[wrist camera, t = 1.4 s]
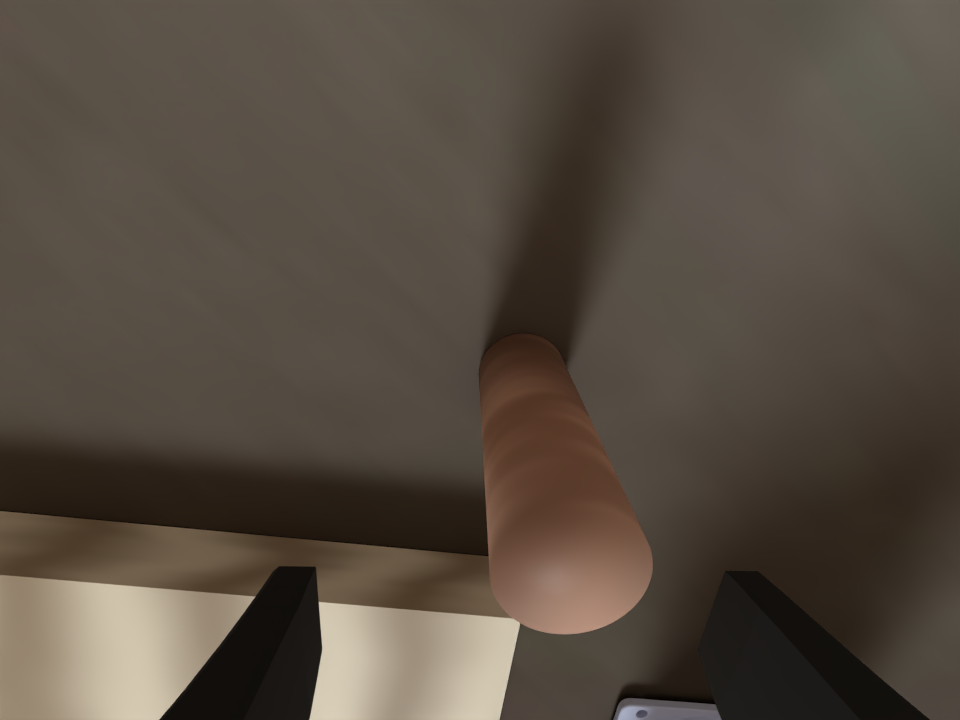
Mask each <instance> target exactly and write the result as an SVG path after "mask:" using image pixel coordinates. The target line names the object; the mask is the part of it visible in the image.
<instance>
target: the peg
mask: <svg viewBox="0 0 960 720" xmlns="http://www.w3.org/2000/svg"><path fill="white" fill-rule="evenodd" d="M479 386H480V405H481V423H482V442H483V460H484V478H485V497H486V515H487V533H488V552H489V570H490V583H491V588H492V591H493V594H494V596H495V598H496V600H497V602H498V603H499V605H500V606H501V607H502V609H503V610H504V611H505V612H506V613H507V614H508V615H509V616H511V617H512V618H513V619H515V620H516V621H518V622H519V623H521V624H523V625H525V626H527V627H529V628H532V629H535V630H538V631H542V632H546V633H553V634H577V633H583V632H588V631H592V630H596V629H598V628H601V627H604V626H606V625H608V624H610V623H612V622H614V621H616V620H618V619H619V618H621V617H622V616H624V615H625V614H626V613H627V612H629V611H630V610H631V609H632V608H633V607H634V606H635V605H636V604H637V603H638V602H639V600H640V599H641V598H642V596H643V595H644V593H645V591H646V590H647V588H648V585H649V583H650V580H651V576H652V569H653V560H652V553H651V549H650V546H649V544H648V542H647V540H646V538H645V536H644V533H643V531H642V529H641V527H640V525H639V523H638V520H637V518H636V516H635V514H634V512H633V510H632V508H631V505H630V503H629V501H628V499H627V497H626V495H625V492H624V490H623V488H622V486H621V484H620V482H619V480H618V477H617V475H616V473H615V471H614V469H613V467H612V464H611V462H610V460H609V458H608V456H607V454H606V452H605V449H604V447H603V445H602V443H601V441H600V439H599V436H598V434H597V432H596V430H595V428H594V426H593V424H592V421H591V419H590V417H589V415H588V413H587V411H586V408H585V406H584V404H583V402H582V400H581V398H580V396H579V393H578V391H577V389H576V387H575V385H574V383H573V380H572V378H571V376H570V374H569V372H568V370H567V368H566V365H565V363H564V361H563V359H562V357H561V355H560V353H559V351H558V350H557V349H556V347H555V346H554V345H553V344H552V343H550V342H549V341H548V340H546V339H544V338H542V337H540V336H537V335H534V334H528V333H519V334H513V335H509V336H506V337H504V338H502V339H500V340H498V341H497V342H495V343H494V344H493V345H492V346H491V347H490V348H489V349H488V350H487V352H486V353H485V355H484V356H483V358H482V361H481V363H480V368H479Z"/></svg>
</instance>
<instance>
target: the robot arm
mask: <svg viewBox="0 0 960 720" xmlns="http://www.w3.org/2000/svg"><path fill="white" fill-rule="evenodd" d="M698 652H699V655H700V658H701V661H702V665H703V668H704V671H705V674H706V677H707V681H708V684H709V687H710V690H711V692H712V695H713V698H714V701H715V704H705V703H691V702H678V701H665V700H652V699H639V698H626V699H623V700H622V701H621V702H620V703H619V705H618V707H617V710H616V713H615V717H614V720H930V719H928V718H927V717H926V716H925V715H923V714H922V713H921V712H920V711H919V710H917V709H916V708H915V707H914V706H913V705H911V704H910V703H909V702H908V701H907V700H905V699H904V698H903V697H902V696H901V695H899V694H898V693H897V692H896V691H895V690H894V689H892V688H891V687H890V686H889V685H888V684H887V683H885V682H884V681H883V680H882V679H881V678H879V677H878V676H877V675H876V674H875V673H874V672H873V671H871V670H870V669H869V668H868V667H867V666H866V665H864V664H863V663H862V662H861V661H860V660H859V659H857V658H856V657H855V656H854V655H853V654H852V653H851V652H849V651H848V650H847V649H846V648H845V647H844V646H843V645H841V644H840V643H839V642H838V641H837V640H836V639H835V638H834V637H832V636H831V635H830V634H829V633H828V632H827V631H826V630H825V629H823V628H822V627H821V626H820V625H819V624H818V623H817V622H815V621H814V620H813V619H812V618H811V617H810V616H809V615H808V614H806V613H805V612H804V611H803V610H802V609H801V608H800V607H799V606H797V605H796V604H795V603H794V602H793V601H792V600H791V599H789V598H788V597H787V596H786V595H785V594H784V593H783V592H781V591H780V590H779V589H778V588H777V587H776V586H775V585H773V584H772V583H771V582H770V581H769V580H767V579H766V578H765V577H764V576H763V575H761V574H760V573H759V572H756V571H725V573H724V576H723V579H722V582H721V585H720V587H719V590H718V593H717V596H716V599H715V602H714V605H713V607H712V610H711V613H710V616H709V619H708V622H707V624H706V627H705V630H704V633H703V636H702V639H701V641H700V644H699V647H698ZM321 654H322V638H321V625H320V612H319V600H318V587H317V574H316V567H308V566H279V567H278V568H276V569H275V570H274V571H273V572H272V573H271V575H270V576H269V578H268V579H267V581H266V582H265V584H264V585H263V586H262V588H261V589H260V591H259V592H258V594H257V595H256V596H255V598H254V599H253V601H252V602H251V603H250V605H249V606H248V608H247V609H246V610H245V612H244V613H243V615H242V616H241V617H240V619H239V620H238V621H237V623H236V624H235V625H234V627H233V628H232V629H231V631H230V632H229V633H228V635H227V636H226V637H225V639H224V640H223V641H222V643H221V644H220V645H219V647H218V648H217V649H216V650H215V652H214V653H213V654H212V655H211V657H210V658H209V659H208V660H207V662H206V663H205V664H204V666H203V667H202V668H201V669H200V671H199V672H198V673H197V674H196V676H195V677H194V678H193V679H192V681H191V682H190V683H189V684H188V686H187V687H186V688H185V690H184V691H183V692H182V693H181V694H180V696H179V697H178V698H177V699H176V700H175V702H174V703H173V704H172V705H171V706H170V708H169V709H168V710H167V711H166V712H165V713H164V715H163V716H162V717H161V718H160V719H159V720H309V719H310V715H311V709H312V704H313V699H314V693H315V688H316V683H317V677H318V671H319V666H320V660H321Z"/></svg>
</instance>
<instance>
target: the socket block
mask: <svg viewBox="0 0 960 720" xmlns="http://www.w3.org/2000/svg"><path fill="white" fill-rule="evenodd" d="M279 566H308V567H316V574H317V587H318V600H319V612H320V625H321V638H322V654H321V660H320V666H319V671H318V677H317V683H316V688H315V693H314V699H313V704H312V709H311V715H310V719H309V720H499V719H500V715H501V710H502V705H503V701H504V696H505V691H506V687H507V682H508V677H509V673H510V668H511V663H512V659H513V654H514V650H515V645H516V640H517V636H518V631H519V626H520V623H519V622H518V621H516V620H515V619H513V618H512V617H511V616H509V615H508V614H507V613H506V612H505V611H504V610H503V609H502V607H501V606H500V605H499V603H498V602H497V600H496V598H495V596H494V594H493V591H492V588H491V583H490V570H489V556H479V555H468V554H457V553H447V552H436V551H425V550H414V549H404V548H393V547H382V546H371V545H360V544H350V543H339V542H328V541H317V540H307V539H296V538H285V537H274V536H264V535H253V534H242V533H231V532H221V531H210V530H199V529H188V528H178V527H167V526H156V525H145V524H135V523H124V522H113V521H102V520H91V519H81V518H70V517H59V516H48V515H38V514H27V513H16V512H5V511H0V720H159V719H160V718H161V717H162V716H163V715H164V713H165V712H166V711H167V710H168V709H169V708H170V706H171V705H172V704H173V703H174V702H175V700H176V699H177V698H178V697H179V696H180V694H181V693H182V692H183V691H184V690H185V688H186V687H187V686H188V684H189V683H190V682H191V681H192V679H193V678H194V677H195V676H196V674H197V673H198V672H199V671H200V669H201V668H202V667H203V666H204V664H205V663H206V662H207V660H208V659H209V658H210V657H211V655H212V654H213V653H214V652H215V650H216V649H217V648H218V647H219V645H220V644H221V643H222V641H223V640H224V639H225V637H226V636H227V635H228V633H229V632H230V631H231V629H232V628H233V627H234V625H235V624H236V623H237V621H238V620H239V619H240V617H241V616H242V615H243V613H244V612H245V610H246V609H247V608H248V606H249V605H250V603H251V602H252V601H253V599H254V598H255V596H256V595H257V594H258V592H259V591H260V589H261V588H262V586H263V585H264V584H265V582H266V581H267V579H268V578H269V576H270V575H271V573H272V572H273V571H274V570H275V569H276V568H278V567H279Z"/></svg>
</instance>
